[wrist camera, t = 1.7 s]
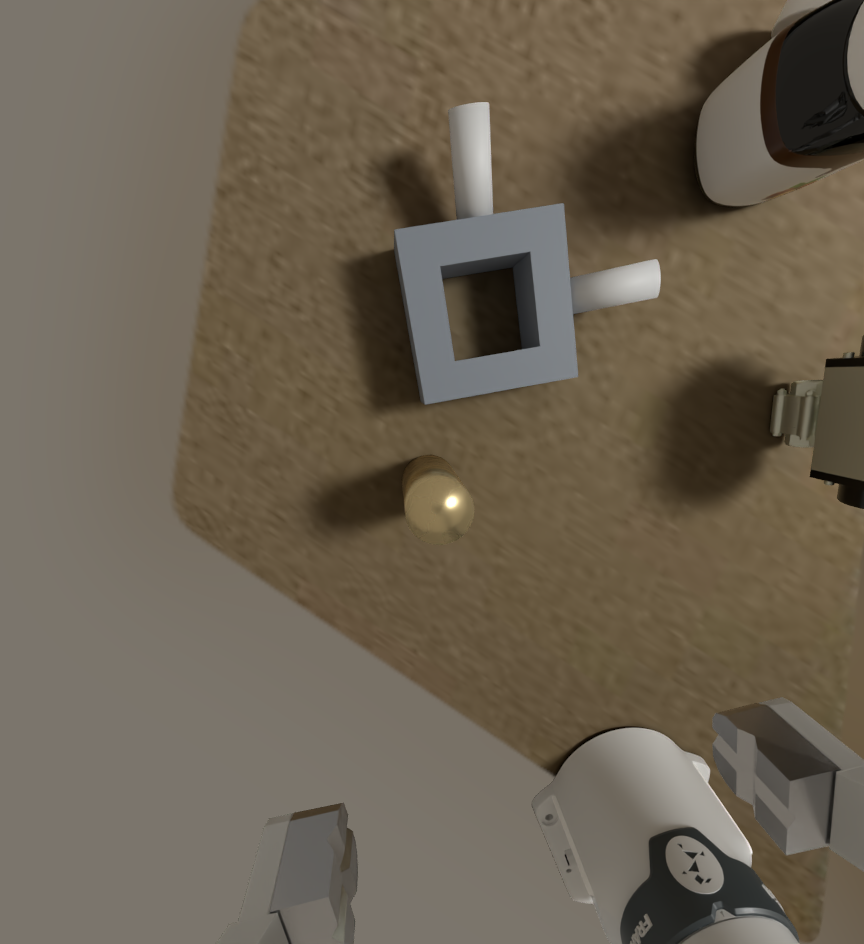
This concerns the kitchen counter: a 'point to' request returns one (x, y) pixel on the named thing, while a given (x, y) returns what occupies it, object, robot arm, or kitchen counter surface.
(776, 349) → the kitchen counter surface
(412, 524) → the cylinder
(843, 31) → the spread jar
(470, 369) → the coupling block
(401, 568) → the kitchen counter surface
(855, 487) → the pneumatic valve
